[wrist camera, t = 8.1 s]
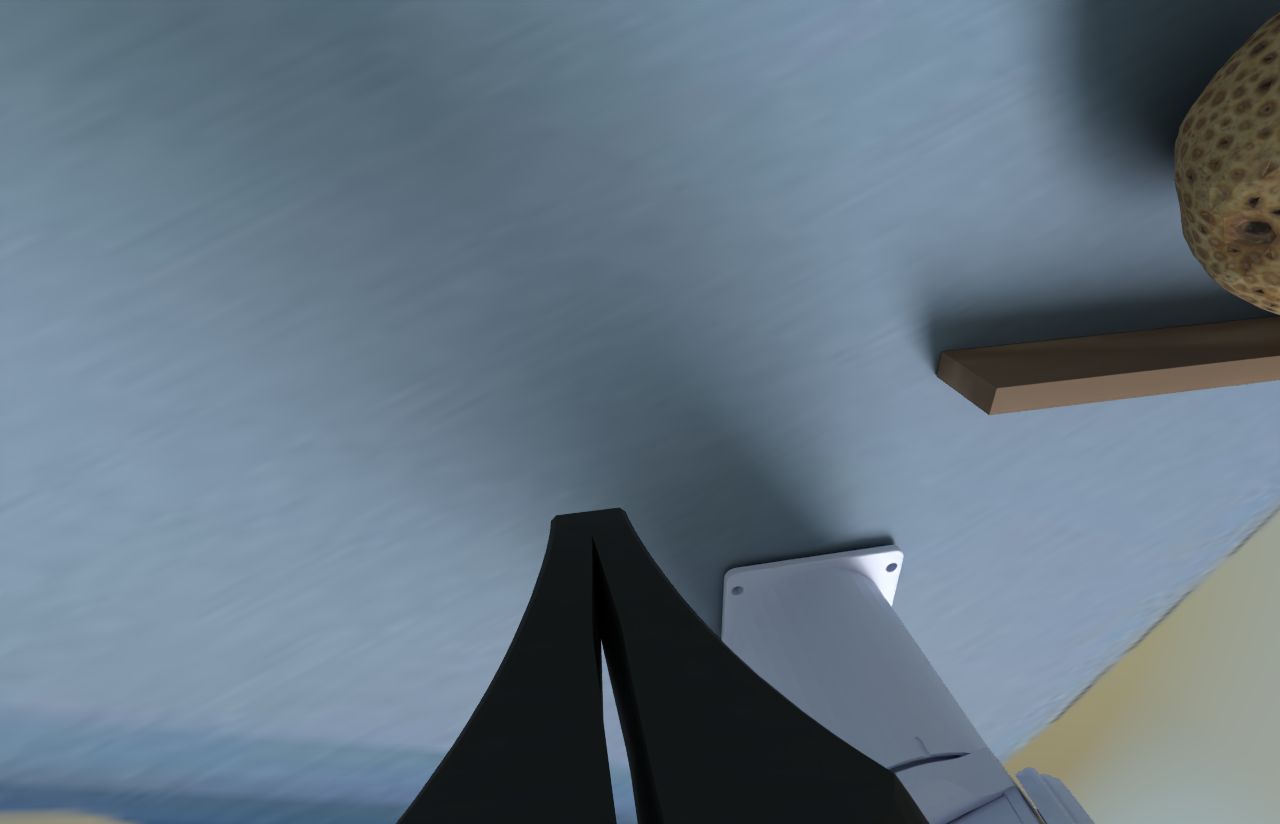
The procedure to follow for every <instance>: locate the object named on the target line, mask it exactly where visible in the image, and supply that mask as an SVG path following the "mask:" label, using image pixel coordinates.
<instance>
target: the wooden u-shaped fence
mask: <svg viewBox="0 0 1280 824" xmlns="http://www.w3.org/2000/svg"><path fill="white" fill-rule="evenodd" d="M937 377H938V378H939V379H941V380H942V381H944V382H945V383H946V384H948V385H949V386H950V387H952V388H953V389H954V390H956V391H957V392H958V393H960V394H961V395H963V396H964V397H965V398H967V399H968V400H969V401H971V402H972V403H973V404H975V405H976V406H978V407H979V408H980V409H982V410H983V411H984V412H986V413H987V414H988V415H994V414H1003V413H1011V412H1019V411H1027V410H1036V409H1044V408H1052V407H1060V406H1069V405H1077V404H1085V403H1093V402H1102V401H1110V400H1118V399H1126V398H1135V397H1143V396H1151V395H1159V394H1168V393H1176V392H1184V391H1192V390H1201V389H1209V388H1217V387H1225V386H1234V385H1242V384H1250V383H1258V382H1267V381H1275V380H1280V316H1276V317H1266V318H1257V319H1247V320H1238V321H1228V322H1219V323H1209V324H1200V325H1191V326H1181V327H1172V328H1162V329H1153V330H1143V331H1134V332H1124V333H1115V334H1105V335H1096V336H1087V337H1077V338H1068V339H1058V340H1049V341H1039V342H1030V343H1020V344H1011V345H1002V346H992V347H983V348H973V349H964V350H954V351H945V352H942V354H941V359H940V363H939V367H938V372H937Z"/></svg>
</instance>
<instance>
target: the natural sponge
mask: <svg viewBox="0 0 1280 824" xmlns="http://www.w3.org/2000/svg"><path fill="white" fill-rule="evenodd" d="M1175 185H1176V190H1177V195H1178V199H1179V204H1180V211H1181V222H1182V229H1183V235H1184V238H1185V240H1186V241H1187V243H1188V245H1189V247H1190V249H1191V251H1192V253H1193V255H1194V257H1195V258H1196V259H1197V260H1198V261H1199V262H1200V264H1201V265H1202V266H1203V268H1204V269H1205V271H1206V272H1207V274H1208V275H1209V276H1210V277H1211V278H1212V279H1213V280H1214V281H1215V282H1216V283H1218V284H1219V285H1220V286H1221V287H1222V288H1223V289H1225V290H1227V291H1228V292H1230V293H1232V294H1233V295H1235V296H1237V297H1239V298H1241V299H1243V300H1245V301H1247V302H1249V303H1251V304H1253V305H1255V306H1257V307H1259V308H1261V309H1264V310H1266V311H1269V312H1272V313H1275V314H1277V315H1280V12H1279V13H1277V14H1276V15H1274V16H1273V17H1271V18H1270V19H1268V20H1267V21H1266V22H1265V23H1264V24H1263V25H1262V26H1261V27H1260V28H1259V29H1258V30H1257V31H1256V32H1255V33H1254V34H1253V35H1252V36H1250V37H1249V39H1248V40H1247V41H1246V42H1245V43H1244V44H1243V45H1242V46H1241V47H1240V48H1239V49H1238V50H1237V51H1236V52H1235V53H1234V54H1233V55H1232V56H1231V58H1230V59H1229V60H1228V61H1227V62H1226V63H1225V64H1224V65H1223V66H1222V67H1221V69H1220V70H1219V71H1218V72H1217V73H1216V74H1215V75H1214V77H1213V78H1212V80H1211V81H1210V82H1209V84H1208V85H1207V86H1206V88H1205V89H1204V90H1203V92H1202V93H1201V95H1200V96H1199V97H1198V99H1197V100H1196V101H1195V103H1194V104H1193V105H1192V106H1191V108H1190V110H1189V112H1188V113H1187V115H1186V117H1185V119H1184V120H1183V122H1182V124H1181V126H1180V128H1179V132H1178V135H1177V139H1176V142H1175Z"/></svg>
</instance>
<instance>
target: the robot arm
mask: <svg viewBox="0 0 1280 824" xmlns="http://www.w3.org/2000/svg"><path fill="white" fill-rule="evenodd" d="M903 557H904V553H903V552H902V550H901V549H900V548H899V547H898V546H896V545H887V546H880V547H874V548H867V549H860V550H853V551H846V552H840V553H833V554H826V555H819V556H812V557H806V558H799V559H792V560H785V561H778V562H772V563H765V564H758V565H751V566H744V567H738V568H733V569H731V570H729V571H728V572H727V573H726V574H725V577H724V593H723V614H722V636H721V639H720V638H719V637H718V636H717V635H716V634H715V633H714V632H713V631H712V630H711V629H710V628H709V627H708V626H707V625H706V624H705V623H704V622H703V620H702V619H701V618H700V617H699V616H698V615H697V614H696V613H695V611H694V610H693V609H692V608H691V607H690V606H689V604H688V603H687V602H686V601H685V600H684V599H683V597H682V596H681V595H680V594H679V593H678V591H677V590H676V589H675V588H674V586H673V585H672V584H671V582H670V581H669V580H668V578H667V577H666V576H665V574H664V573H663V572H662V570H661V569H660V568H659V566H658V565H657V564H656V562H655V561H654V559H653V558H652V557H651V555H650V554H649V552H648V551H647V549H646V547H645V546H644V544H643V543H642V541H641V540H640V538H639V536H638V535H637V533H636V531H635V530H634V528H633V526H632V524H631V522H630V520H629V518H628V516H627V514H626V512H625V511H624V510H622V509H621V508H613V509H605V510H597V511H588V512H580V513H572V514H564V515H556V516H555V518H554V519H553V520H552V521H551V529H550V535H549V540H548V545H547V549H546V553H545V556H544V560H543V563H542V567H541V570H540V573H539V576H538V578H537V581H536V584H535V587H534V590H533V593H532V596H531V598H530V601H529V603H528V606H527V608H526V611H525V613H524V615H523V618H522V620H521V622H520V624H519V627H518V629H517V631H516V634H515V636H514V638H513V640H512V643H511V645H510V647H509V649H508V651H507V653H506V655H505V657H504V659H503V661H502V663H501V665H500V667H499V669H498V671H497V672H496V674H495V676H494V678H493V680H492V682H491V684H490V685H489V687H488V689H487V691H486V692H485V694H484V696H483V697H482V699H481V701H480V702H479V704H478V706H477V708H476V709H475V711H474V713H473V714H472V716H471V718H470V719H469V721H468V723H467V724H466V726H465V727H464V729H463V731H462V732H461V734H460V735H459V737H458V738H457V740H456V741H455V743H454V744H453V746H452V747H451V749H450V750H449V752H448V753H447V754H446V756H445V757H444V759H443V760H442V762H441V763H440V764H439V766H438V767H437V769H436V770H435V772H434V773H433V774H432V776H431V777H430V779H429V780H428V782H427V783H426V784H425V786H424V787H423V789H422V790H421V791H420V793H419V794H418V796H417V797H416V798H415V800H414V801H413V802H412V804H411V805H410V806H409V808H408V809H407V810H406V812H405V813H404V814H403V815H402V817H401V818H400V819H399V820H398V822H397V823H396V824H617V823H616V815H615V808H614V800H613V793H612V785H611V777H610V770H609V762H608V754H607V746H606V738H605V731H604V723H603V691H602V656H601V641H602V645H603V650H604V654H605V658H606V663H607V667H608V672H609V676H610V681H611V685H612V689H613V694H614V698H615V702H616V707H617V711H618V716H619V720H620V724H621V729H622V733H623V737H624V742H625V746H626V751H627V756H628V762H629V767H630V772H631V779H632V786H633V793H634V800H635V807H636V814H637V822H638V824H1095V823H1094V822H1093V821H1092V819H1091V818H1090V817H1089V815H1088V814H1087V813H1086V811H1085V810H1084V809H1083V807H1082V806H1081V805H1080V804H1079V802H1078V801H1077V800H1076V799H1075V797H1074V796H1073V795H1072V793H1071V792H1070V791H1069V790H1068V789H1067V787H1066V786H1065V785H1064V784H1063V782H1062V781H1061V780H1060V779H1058V778H1055V777H1052V776H1049V775H1046V774H1041V775H1040V774H1039V773H1038V772H1037V771H1036V770H1035V769H1034V768H1031V767H1028V768H1025V769H1023V770H1022V771H1020V772H1018V773H1017V774H1015V775H1016V777H1017V779H1018V780H1019V782H1020V784H1021V785H1022V787H1023V788H1024V790H1025V791H1026V793H1027V794H1028V796H1029V797H1030V799H1031V800H1032V802H1033V803H1034V805H1035V806H1036V807H1037V811H1038V812H1037V811H1036V809H1035V808H1034V806H1033V805H1032V803H1031V802H1030V800H1029V799H1028V798H1027V796H1026V795H1025V793H1024V792H1023V791H1022V790H1021V788H1020V787H1019V786H1018V784H1017V783H1016V782H1015V781H1014V779H1013V778H1012V777H1011V776H1010V774H1008V772H1007V770H1006V769H1005V768H1004V767H1003V765H1002V764H1001V763H1000V762H999V760H998V759H997V758H996V756H995V755H994V754H993V753H992V751H991V750H990V749H989V748H988V747H987V745H986V744H985V742H984V741H983V739H982V738H981V737H980V735H979V734H978V732H977V731H976V729H975V728H974V726H973V725H972V723H971V722H970V721H969V719H968V718H967V716H966V715H965V713H964V712H963V710H962V709H961V707H960V706H959V704H958V703H957V702H956V700H955V699H954V697H953V696H952V694H951V693H950V691H949V690H948V688H947V687H946V686H945V684H944V683H943V681H942V680H941V678H940V677H939V675H938V674H937V672H936V671H935V670H934V668H933V667H932V665H931V664H930V662H929V661H928V659H927V658H926V656H925V655H924V654H923V652H922V651H921V649H920V648H919V646H918V645H917V643H916V642H915V640H914V639H913V637H912V636H911V635H910V633H909V632H908V630H907V629H906V627H905V626H904V624H903V623H902V621H901V620H900V619H899V617H898V616H897V614H896V613H895V611H894V610H893V608H892V603H893V599H894V595H895V590H896V586H897V582H898V578H899V574H900V570H901V565H902V561H903ZM738 586H739V587H738ZM735 587H738V588H735ZM734 588H735V589H734ZM1039 814H1040V815H1039ZM1041 817H1042V818H1041Z"/></svg>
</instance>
